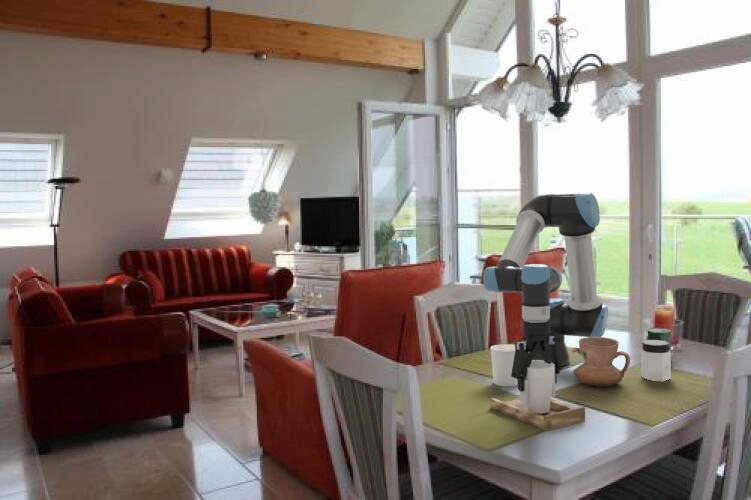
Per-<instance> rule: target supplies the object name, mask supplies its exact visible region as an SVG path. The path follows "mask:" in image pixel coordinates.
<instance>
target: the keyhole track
mask: <svg viewBox="0 0 751 500" xmlns="http://www.w3.org/2000/svg"><path fill="white" fill-rule="evenodd" d="M490 409H493V410H494V411H497V412H500V413H502V414H504V415H507V416H509V417H511V418H514V419H516V420H519V421H521V422H524V423H526V424H528V425H530V426H533V427H536V428H537V429H540V430H543V431H545V432H548V431H552V430H557V429H559V428H563V427H567V426H572V425H575V424H579V423H582V422H586V407H585V406H583V405H582V406H578V407H575V406H573V405H571V404H567V403H564V402H561V401H558V400H555V399H554V398H553V399H552V398H551V402H550V410H549V412H547V413H533V412H531V411H528V410H526V404H525V403H523V402H521V401H520V398H516V399H512V400H508V401H502V400H499V399H497V398H494V397H491V398H490Z"/></svg>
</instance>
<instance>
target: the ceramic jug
mask: <svg viewBox="0 0 751 500" xmlns="http://www.w3.org/2000/svg"><path fill="white" fill-rule="evenodd" d="M619 344H620V342H619V341H618V340H617V339H615V338H611V337H606V336H602V337H581V338H579V340H578V346H579V347H572V348H571V352H572V353H577V354H579V355H580V356H582V358H583V360H584V363H582V364H580V365H579V366H578V367H576V368H575V369H574V370H572V374H573V375H574V377H575V379H576V380H577V381H578V382H580V383H582V384H583V385H584V384H585V385H586V386H591V387H598V388H601V387H602V388H604V387H612V386H615V385H617V384H619V383H620V382H621V381H622V380H623V378H624V376H625V373H626V372H627V370H628V369H629V367H630V365H631V357H630V355H629V354H628V352H626V351H623V350H620V351H618V349H619ZM620 356H623V357H624V358H625V359H624V360H625V363H624V366H623V367H622V369H621V370H620V369H619V368H618V367H616V366H615V365H614V364H613V362H614V360H616V359H617V358H618V357H620Z"/></svg>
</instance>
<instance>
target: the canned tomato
mask: <svg viewBox="0 0 751 500" xmlns="http://www.w3.org/2000/svg"><path fill="white" fill-rule="evenodd" d="M647 340H661V341H666V342H668V343H669V351H671V352H672V330H671V329H669V328H664V327H663V328H662V327H651V328H648V329H647Z"/></svg>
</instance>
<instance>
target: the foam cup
mask: <svg viewBox="0 0 751 500" xmlns="http://www.w3.org/2000/svg"><path fill="white" fill-rule="evenodd" d="M554 373H555V364H553V363H551V364H548V363H545V362H544V361H543V360H532V362H531V365H530V367H528V368H527V376H526V378H525V379H526V380H528V403H527V404H526V403H525V404H526V410H528V411H531V412H533V413H547V412H549V410H550V402H551V399H552V397H551V394H552V385H553V376H554Z"/></svg>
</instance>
